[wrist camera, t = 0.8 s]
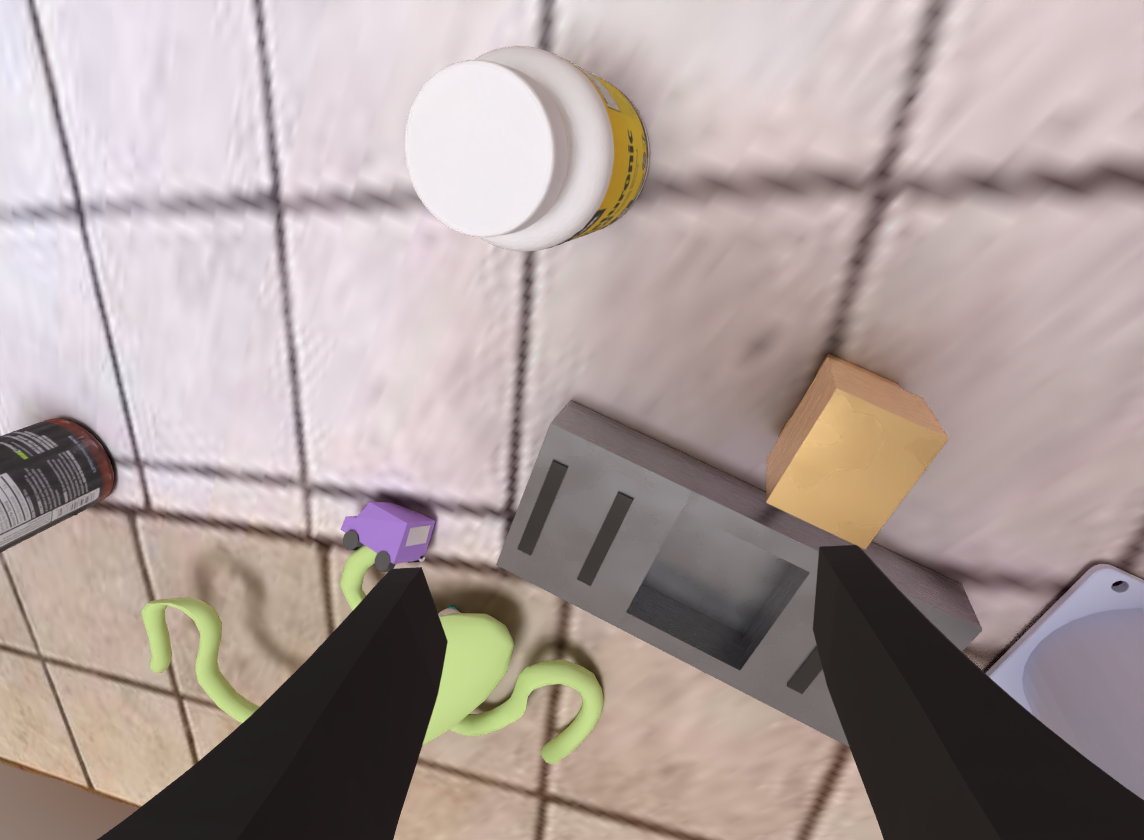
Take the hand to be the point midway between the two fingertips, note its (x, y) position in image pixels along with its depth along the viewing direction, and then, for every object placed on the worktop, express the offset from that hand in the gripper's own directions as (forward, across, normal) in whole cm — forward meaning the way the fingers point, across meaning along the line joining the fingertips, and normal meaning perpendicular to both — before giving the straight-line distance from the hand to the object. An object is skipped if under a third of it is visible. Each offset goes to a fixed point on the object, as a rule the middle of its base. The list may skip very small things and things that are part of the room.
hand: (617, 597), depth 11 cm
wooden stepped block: (+14, -8, +5) cm, 16 cm away
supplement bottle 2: (+17, +1, -5) cm, 18 cm away
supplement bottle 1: (+22, +35, +9) cm, 43 cm away
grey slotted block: (+13, -3, +12) cm, 18 cm away
